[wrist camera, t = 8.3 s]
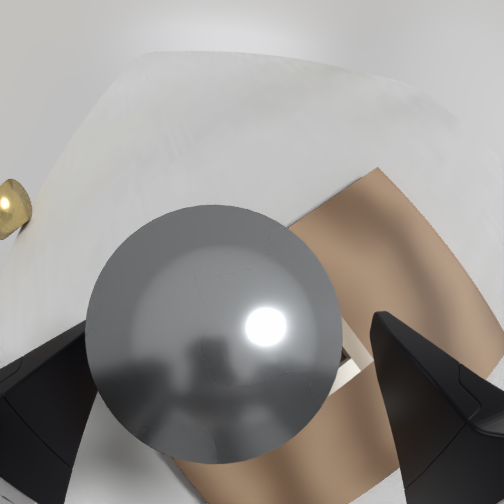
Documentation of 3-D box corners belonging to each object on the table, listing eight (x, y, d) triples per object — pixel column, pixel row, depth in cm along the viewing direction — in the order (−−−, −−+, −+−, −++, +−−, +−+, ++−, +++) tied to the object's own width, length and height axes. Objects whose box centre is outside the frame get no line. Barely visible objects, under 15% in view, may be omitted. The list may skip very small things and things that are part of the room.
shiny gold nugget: (-3, 197, 19) (-25, 218, 18) (27, 230, 23) (4, 248, 22) (10, 170, 22) (-11, 190, 22) (35, 202, 26) (13, 219, 25)
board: (255, 540, 13) (252, 557, 11) (115, 351, 19) (98, 350, 17) (501, 345, 16) (520, 342, 14) (373, 175, 22) (381, 157, 20)
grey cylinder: (266, 402, 16) (236, 507, 4) (199, 356, 17) (52, 348, 5) (313, 335, 17) (391, 290, 5) (245, 291, 18) (180, 168, 6)
